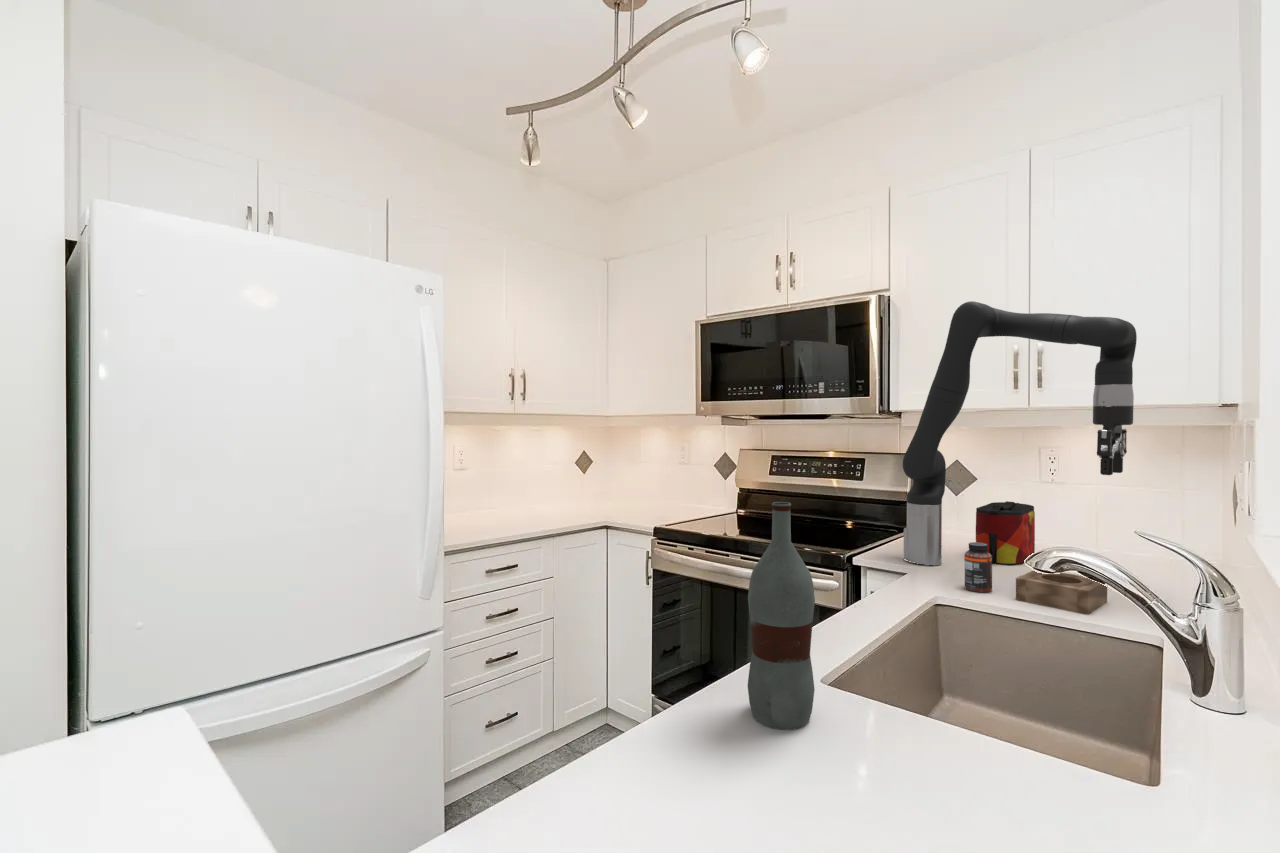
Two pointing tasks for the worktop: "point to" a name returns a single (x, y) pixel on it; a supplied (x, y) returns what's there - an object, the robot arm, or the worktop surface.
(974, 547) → the supplement bottle
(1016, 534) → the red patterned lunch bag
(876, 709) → the worktop surface
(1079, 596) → the socket block
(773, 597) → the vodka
